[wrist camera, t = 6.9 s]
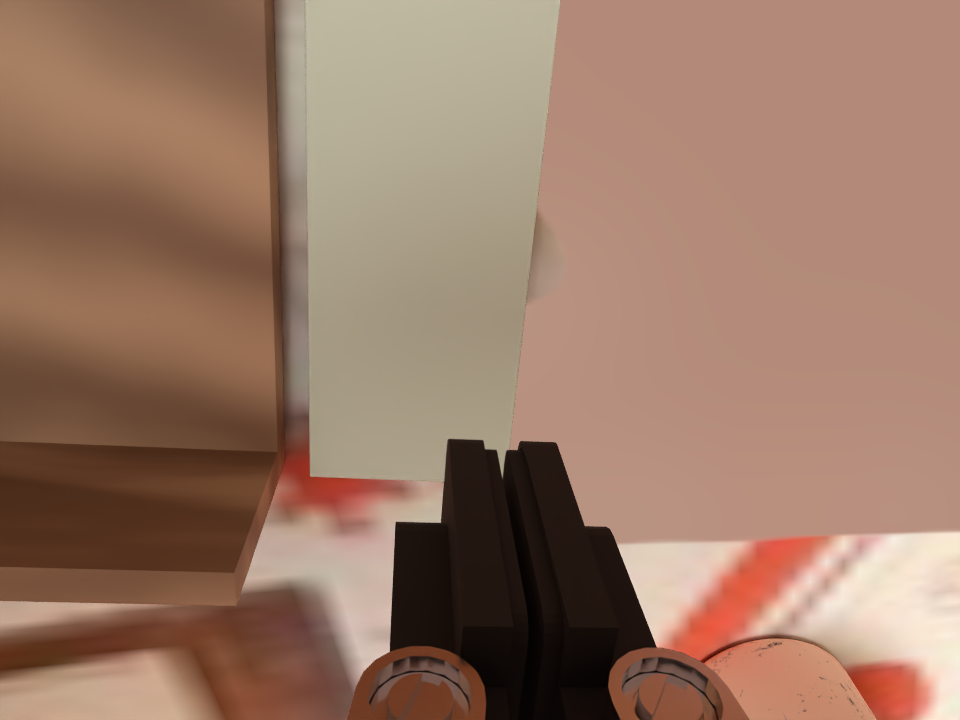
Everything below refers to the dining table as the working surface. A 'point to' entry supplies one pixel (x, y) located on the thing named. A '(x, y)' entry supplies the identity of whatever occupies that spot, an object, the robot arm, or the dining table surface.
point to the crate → (137, 298)
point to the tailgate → (420, 224)
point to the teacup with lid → (789, 682)
